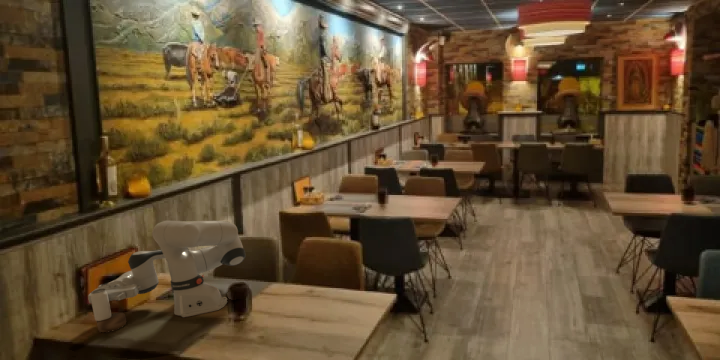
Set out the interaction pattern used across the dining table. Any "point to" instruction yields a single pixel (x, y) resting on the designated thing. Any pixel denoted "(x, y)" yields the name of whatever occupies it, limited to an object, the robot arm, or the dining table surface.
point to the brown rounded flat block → (112, 322)
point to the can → (100, 305)
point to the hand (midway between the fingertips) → (105, 300)
